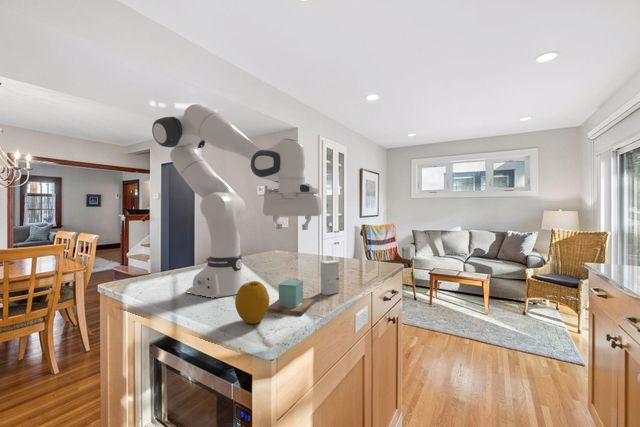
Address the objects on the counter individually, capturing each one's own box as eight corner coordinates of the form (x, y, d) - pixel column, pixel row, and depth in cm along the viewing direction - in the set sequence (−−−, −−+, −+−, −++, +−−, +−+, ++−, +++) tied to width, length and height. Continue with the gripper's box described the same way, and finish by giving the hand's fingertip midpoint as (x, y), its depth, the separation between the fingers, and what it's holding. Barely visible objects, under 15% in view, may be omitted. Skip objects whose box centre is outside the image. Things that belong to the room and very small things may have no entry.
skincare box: (326, 295, 107) (326, 263, 106) (320, 292, 110) (319, 261, 110) (339, 292, 110) (339, 261, 110) (332, 290, 114) (332, 259, 114)
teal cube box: (278, 305, 93) (278, 284, 92) (286, 299, 98) (286, 279, 98) (296, 307, 91) (295, 285, 91) (302, 301, 97) (302, 281, 96)
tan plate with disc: (266, 311, 91) (266, 298, 90) (282, 300, 102) (282, 288, 102) (301, 315, 87) (301, 301, 87) (314, 303, 98) (314, 290, 98)
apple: (245, 314, 89) (245, 276, 89) (275, 316, 87) (274, 277, 86) (228, 327, 79) (228, 284, 79) (261, 329, 77) (260, 286, 77)
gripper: (259, 188, 96) (259, 229, 96) (317, 186, 90) (317, 230, 90) (268, 189, 102) (268, 228, 102) (323, 188, 96) (323, 229, 96)
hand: (291, 229), depth 96 cm, fingers open, 8 cm apart
